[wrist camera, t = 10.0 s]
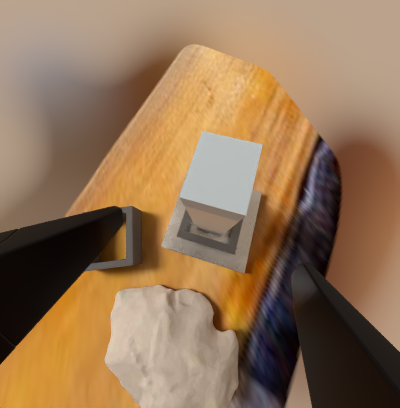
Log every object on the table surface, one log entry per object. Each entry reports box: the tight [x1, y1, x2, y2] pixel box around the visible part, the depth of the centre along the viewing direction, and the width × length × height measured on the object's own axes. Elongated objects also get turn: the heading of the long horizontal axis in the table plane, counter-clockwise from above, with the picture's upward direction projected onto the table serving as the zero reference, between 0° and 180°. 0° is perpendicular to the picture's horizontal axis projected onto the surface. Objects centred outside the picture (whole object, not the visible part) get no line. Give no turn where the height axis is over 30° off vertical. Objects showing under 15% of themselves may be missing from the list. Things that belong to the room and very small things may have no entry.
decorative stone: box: [105, 285, 239, 408], centre depth 16 cm, size 11×4×15 cm
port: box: [161, 174, 262, 273], centre depth 19 cm, size 10×10×4 cm
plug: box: [179, 131, 263, 236], centre depth 13 cm, size 4×3×12 cm
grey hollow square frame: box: [84, 206, 142, 271], centre depth 19 cm, size 7×6×2 cm
